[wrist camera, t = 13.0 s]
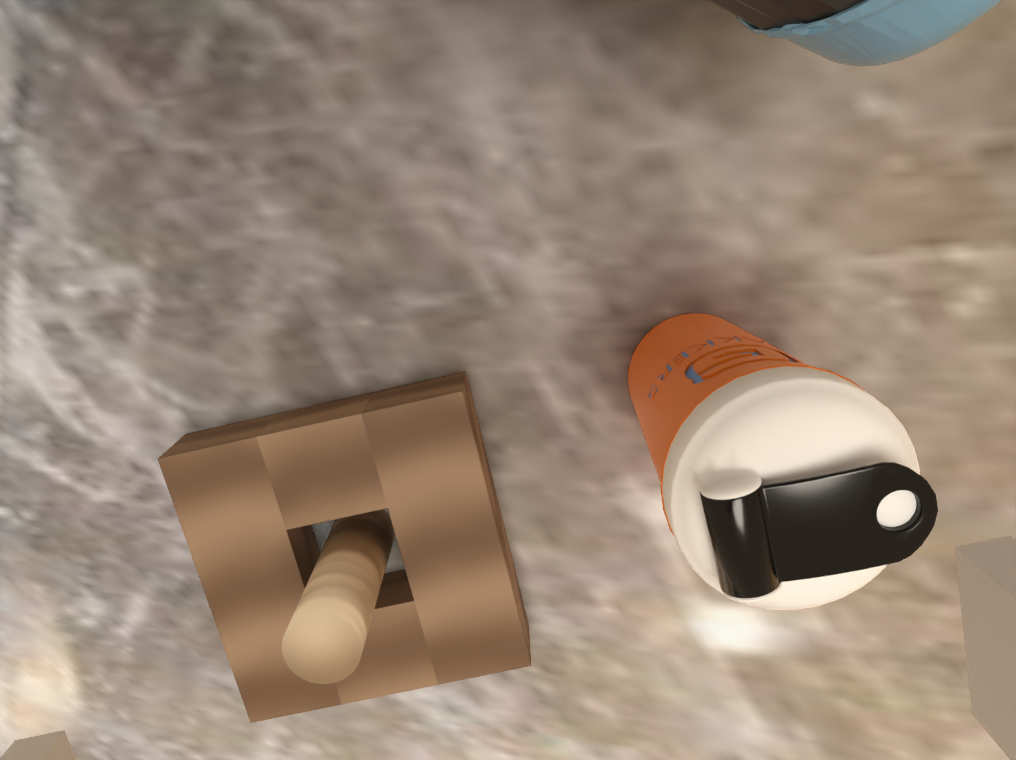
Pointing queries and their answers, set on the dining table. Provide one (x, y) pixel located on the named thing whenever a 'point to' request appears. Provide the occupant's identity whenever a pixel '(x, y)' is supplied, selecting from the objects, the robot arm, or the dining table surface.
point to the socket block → (341, 493)
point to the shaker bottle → (774, 466)
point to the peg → (339, 599)
